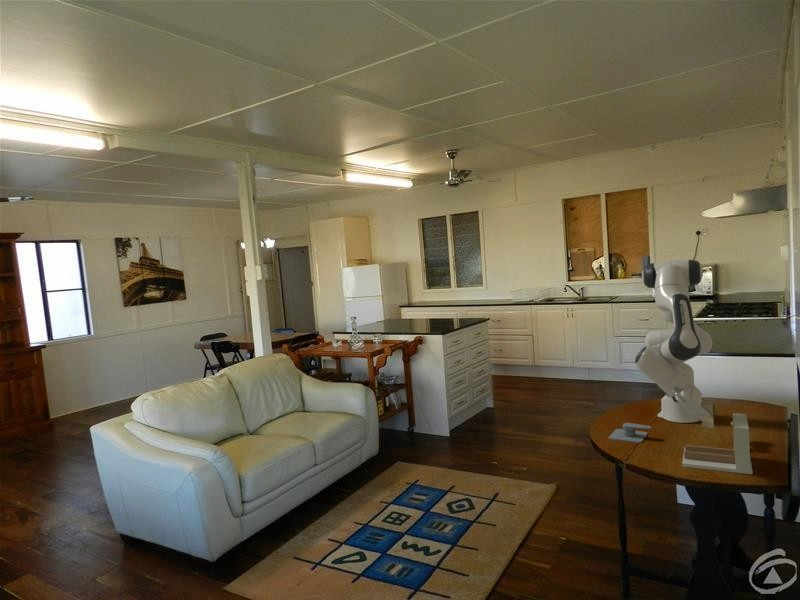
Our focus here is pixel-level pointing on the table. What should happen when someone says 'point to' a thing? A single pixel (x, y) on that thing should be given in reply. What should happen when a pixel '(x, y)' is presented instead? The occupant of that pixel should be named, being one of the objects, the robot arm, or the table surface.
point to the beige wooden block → (708, 421)
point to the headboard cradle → (723, 452)
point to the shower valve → (630, 433)
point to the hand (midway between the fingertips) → (709, 414)
